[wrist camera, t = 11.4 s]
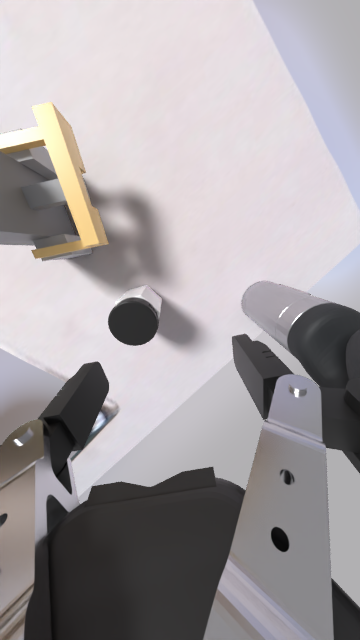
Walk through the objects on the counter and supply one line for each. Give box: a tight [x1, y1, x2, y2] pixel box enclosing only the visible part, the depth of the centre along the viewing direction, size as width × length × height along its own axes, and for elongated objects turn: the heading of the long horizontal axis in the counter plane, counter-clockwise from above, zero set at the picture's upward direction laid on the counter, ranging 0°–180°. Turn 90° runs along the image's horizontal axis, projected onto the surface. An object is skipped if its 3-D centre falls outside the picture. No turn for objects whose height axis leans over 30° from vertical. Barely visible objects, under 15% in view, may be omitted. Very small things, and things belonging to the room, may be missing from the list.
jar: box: [108, 285, 162, 346], centre depth 34 cm, size 9×8×12 cm
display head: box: [0, 129, 93, 261], centre depth 24 cm, size 14×15×17 cm
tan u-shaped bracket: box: [0, 102, 109, 259], centre depth 23 cm, size 11×14×4 cm
